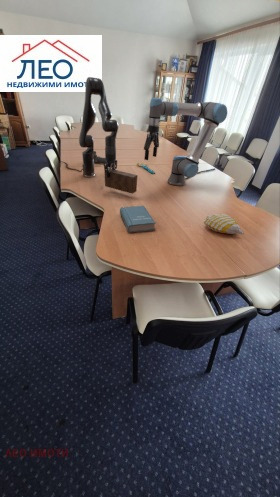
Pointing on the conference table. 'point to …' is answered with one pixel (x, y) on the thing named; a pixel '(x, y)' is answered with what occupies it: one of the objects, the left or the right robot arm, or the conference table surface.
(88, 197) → the conference table surface
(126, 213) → the book
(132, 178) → the box
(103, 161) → the laser sight
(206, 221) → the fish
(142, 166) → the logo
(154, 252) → the conference table surface
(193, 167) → the right robot arm
